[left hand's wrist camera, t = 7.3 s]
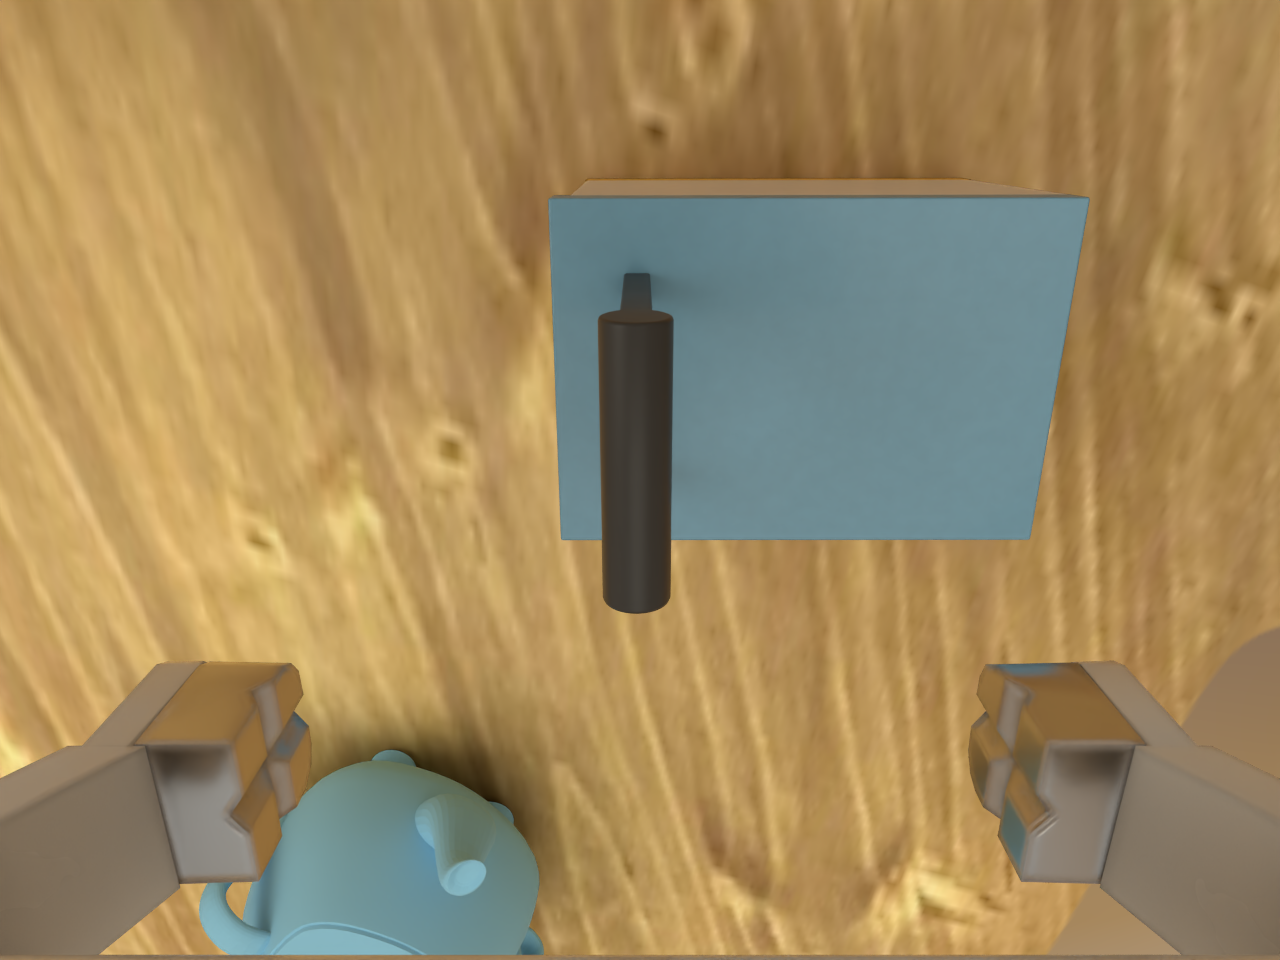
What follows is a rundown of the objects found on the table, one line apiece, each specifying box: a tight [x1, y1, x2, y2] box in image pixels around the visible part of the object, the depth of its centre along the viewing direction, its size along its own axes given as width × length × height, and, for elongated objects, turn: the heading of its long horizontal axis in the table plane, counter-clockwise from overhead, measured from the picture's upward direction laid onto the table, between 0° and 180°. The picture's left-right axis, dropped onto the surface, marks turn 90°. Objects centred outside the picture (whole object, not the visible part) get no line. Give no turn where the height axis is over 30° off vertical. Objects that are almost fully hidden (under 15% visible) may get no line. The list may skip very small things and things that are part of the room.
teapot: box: [199, 750, 544, 955], centre depth 38 cm, size 13×14×11 cm
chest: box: [572, 178, 1062, 195], centre depth 30 cm, size 14×10×9 cm
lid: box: [548, 194, 1090, 614], centre depth 22 cm, size 14×10×9 cm
